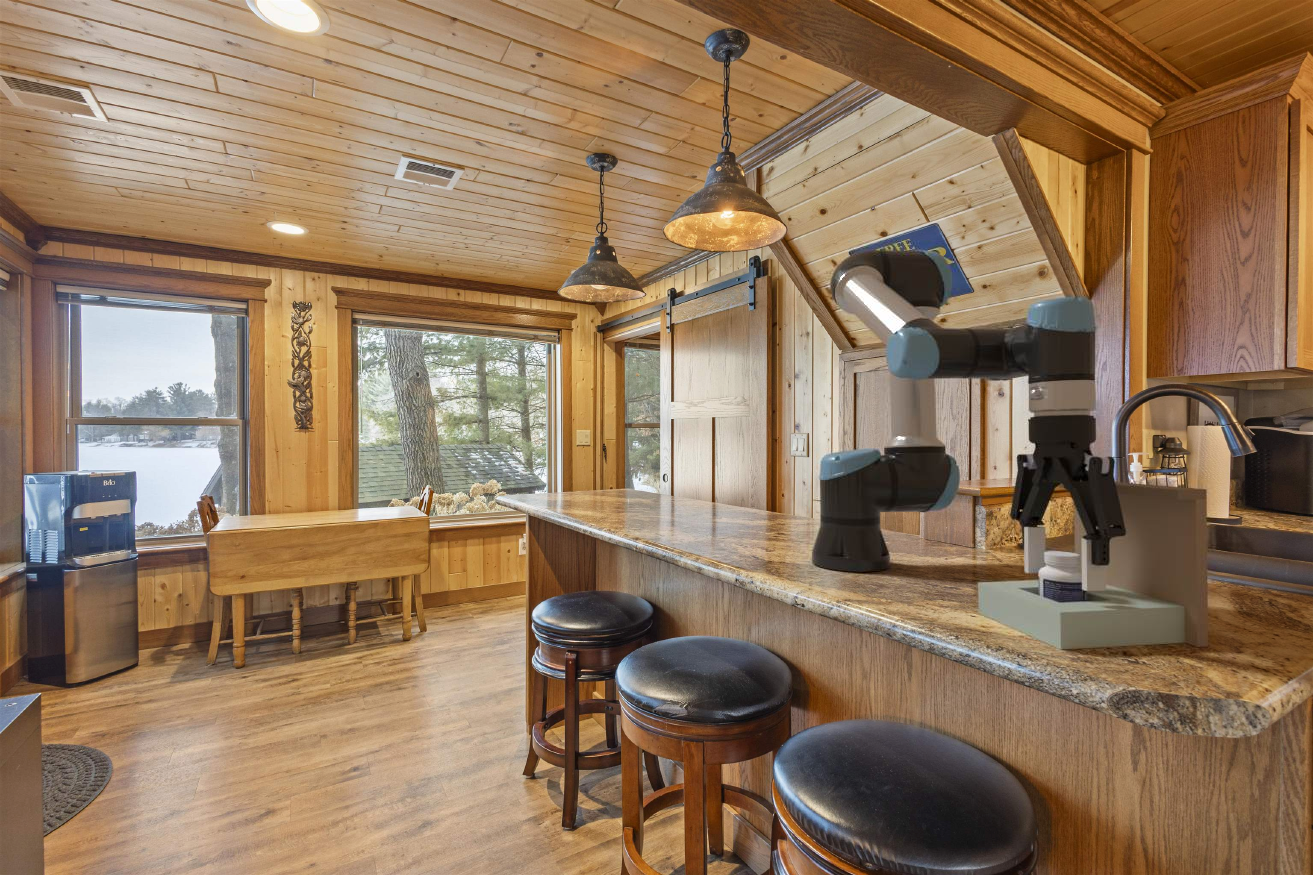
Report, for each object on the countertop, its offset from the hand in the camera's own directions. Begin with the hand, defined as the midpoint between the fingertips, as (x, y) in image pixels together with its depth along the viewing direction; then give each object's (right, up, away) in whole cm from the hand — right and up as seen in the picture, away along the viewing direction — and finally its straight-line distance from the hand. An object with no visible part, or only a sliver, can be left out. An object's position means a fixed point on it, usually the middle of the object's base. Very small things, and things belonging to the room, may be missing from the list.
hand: (1062, 580), depth 79 cm
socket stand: (+2, -6, 0) cm, 7 cm away
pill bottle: (0, -6, 0) cm, 6 cm away
